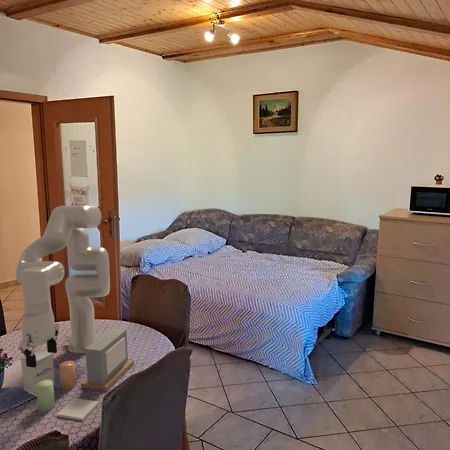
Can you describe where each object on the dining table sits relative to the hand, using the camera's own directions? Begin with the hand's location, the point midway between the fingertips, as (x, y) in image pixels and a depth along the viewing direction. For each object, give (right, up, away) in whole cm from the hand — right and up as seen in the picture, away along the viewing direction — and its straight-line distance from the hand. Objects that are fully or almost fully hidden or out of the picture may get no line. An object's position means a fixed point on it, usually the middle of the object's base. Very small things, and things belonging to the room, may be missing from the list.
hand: (42, 359), depth 133 cm
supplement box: (-7, -15, +13) cm, 21 cm away
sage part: (0, -16, +3) cm, 16 cm away
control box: (+15, -13, +22) cm, 30 cm away
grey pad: (+11, -16, +1) cm, 20 cm away
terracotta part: (+3, -14, +15) cm, 21 cm away
